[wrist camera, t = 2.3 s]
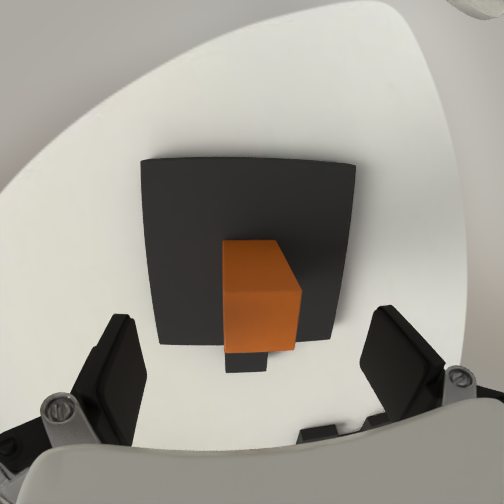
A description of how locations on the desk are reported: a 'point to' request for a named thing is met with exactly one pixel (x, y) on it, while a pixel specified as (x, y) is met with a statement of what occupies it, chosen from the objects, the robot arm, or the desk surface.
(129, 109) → the desk surface
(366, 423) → the notched pad
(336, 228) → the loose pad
